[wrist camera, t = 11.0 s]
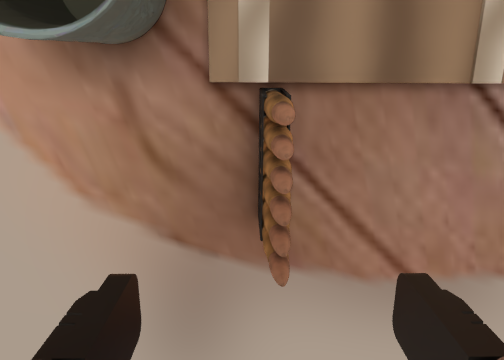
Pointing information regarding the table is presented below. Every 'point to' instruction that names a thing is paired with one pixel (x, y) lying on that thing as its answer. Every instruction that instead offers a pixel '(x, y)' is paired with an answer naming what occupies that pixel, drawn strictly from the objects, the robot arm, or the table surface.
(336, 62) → the plank
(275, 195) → the ammunition clip
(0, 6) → the grey-green cup
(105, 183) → the table surface
